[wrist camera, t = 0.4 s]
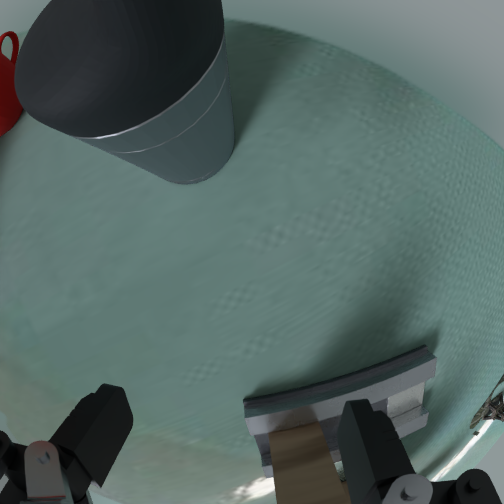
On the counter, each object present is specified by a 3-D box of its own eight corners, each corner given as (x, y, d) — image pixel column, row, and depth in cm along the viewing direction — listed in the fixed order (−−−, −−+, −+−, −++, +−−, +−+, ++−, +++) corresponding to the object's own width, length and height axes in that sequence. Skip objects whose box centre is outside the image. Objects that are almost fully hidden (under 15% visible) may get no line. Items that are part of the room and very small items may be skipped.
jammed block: (267, 425, 29) (281, 535, 13) (316, 414, 29) (354, 518, 13) (275, 454, 29) (290, 551, 13) (320, 443, 29) (351, 537, 14)
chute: (243, 399, 29) (243, 414, 26) (425, 344, 29) (437, 353, 27) (265, 466, 31) (267, 480, 28) (417, 418, 31) (425, 428, 28)
